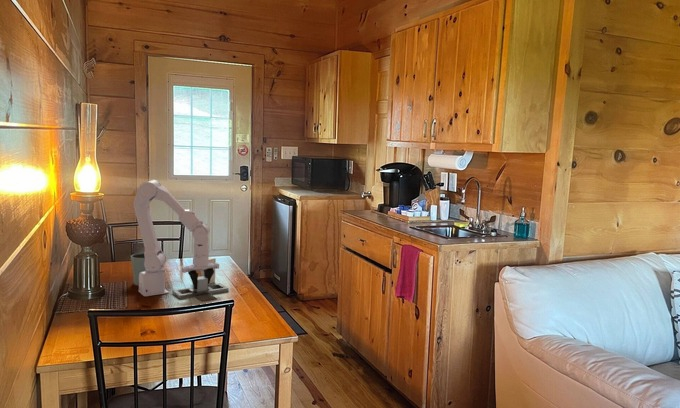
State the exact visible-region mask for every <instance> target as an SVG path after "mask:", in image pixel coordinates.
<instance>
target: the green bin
mask: <svg viewBox="0 0 680 408" xmlns="http://www.w3.org/2000/svg"><path fill="white" fill-rule="evenodd" d="M130 261H131V267H132V268H131V269H132V275H133V276H132V278H133V285H135V286H137V287H139V273H140V272H144V271H146V268H145V266H144V261H145V256H144V252H138V253H134V254H132V255H130Z"/></svg>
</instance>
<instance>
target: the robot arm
mask: <svg viewBox="0 0 680 408" xmlns="http://www.w3.org/2000/svg"><path fill="white" fill-rule="evenodd" d="M153 200H156V201H163V202H164V203H165V204H166V205H167V206H168V207H169V208H171V210H172V211H174V212H175V213H176V214H177V215H178V221H180V223H182V224H183V226H184V227H185V228H186V229H187V230H188V231H190V232H191V236H192V237H193V258H194V265H193V264H191V265H187V266H182V267H181V268H182V269H181V272H182V273H183V274H186V273H187V274H188V276H189V278H190V280H191V283H192V287H193V288H194V289H197V279H198V273H197V272H196V271H199V270H204V277H206V278H208V286H209V285H210V284H209V282H210V279H211V277H212V275H213V274H214V270H213V269H215V270H216V269H218V270H219V269H220V263H219V262H216V263H209V257H210V256H209V254H210V252H209V251H210V249H209V246H210V244H209V234H210V227H209V226H208V224H207V223H205V222H204V220H202V219H201V220H200V218H199V217H198V216H197V215H196V212H195V211H194V210H191V209H185V207H184V206H183V205H182V204H181V203H180V202H179V201H178V199H176V197H174V195H173V194H171V192H170V191H169V190H168V188H166V187H165V186H164V185H163V184H162V183H161V182H160V181H158V180H155V179H151V180H149V181H144V182H143V183H141V184H140V185H139V186H138V188H137V189H136V194H135V197H134V199H133V203H132V204H133V206H132V207H133V209H134V214H135V217H136V220H137V225H138V227H139V228H138V229H139V231H140V236H141V239H142V243H143V246H144V252H143V253H144V256H145V261H144V266H145V268H146V271H144V272H140V273H139V286H138V293H140V295H142V296H143V297H150V296H157V295H164V294H169V293H170V292H169V291H168V290H167V289H166V268H165V263H166V262H167V255H166V254H165V253H164V252H163V250H162V247H161V246H160V245H159V242H158V238H157V235H156V231H155V227H154V224H153V220H152V215H151V212H150V208H149V205H150V204H151V202H152V201H153Z"/></svg>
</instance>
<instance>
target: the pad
mask: <svg viewBox="0 0 680 408" xmlns="http://www.w3.org/2000/svg"><path fill="white" fill-rule="evenodd" d="M195 298H196V299H197V300H199V301H200V302H202V303H203V302H207V301H215V300H217V299H218V298H217V297H216V296H214V294H208V295H202V296H196V297H195Z"/></svg>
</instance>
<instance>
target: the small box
mask: <svg viewBox="0 0 680 408" xmlns="http://www.w3.org/2000/svg"><path fill="white" fill-rule="evenodd" d="M216 259H217V258H216V257H210V256H209V263H217V262H216ZM192 265H194V257H193V258H192ZM213 270H214V274H213V275H212V277H211V279H210V282H209V285H211V284H213V283H215V282H216V268H215V269H213ZM196 272H197V273H198V277H201V276H204V270H199V271H196Z"/></svg>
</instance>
